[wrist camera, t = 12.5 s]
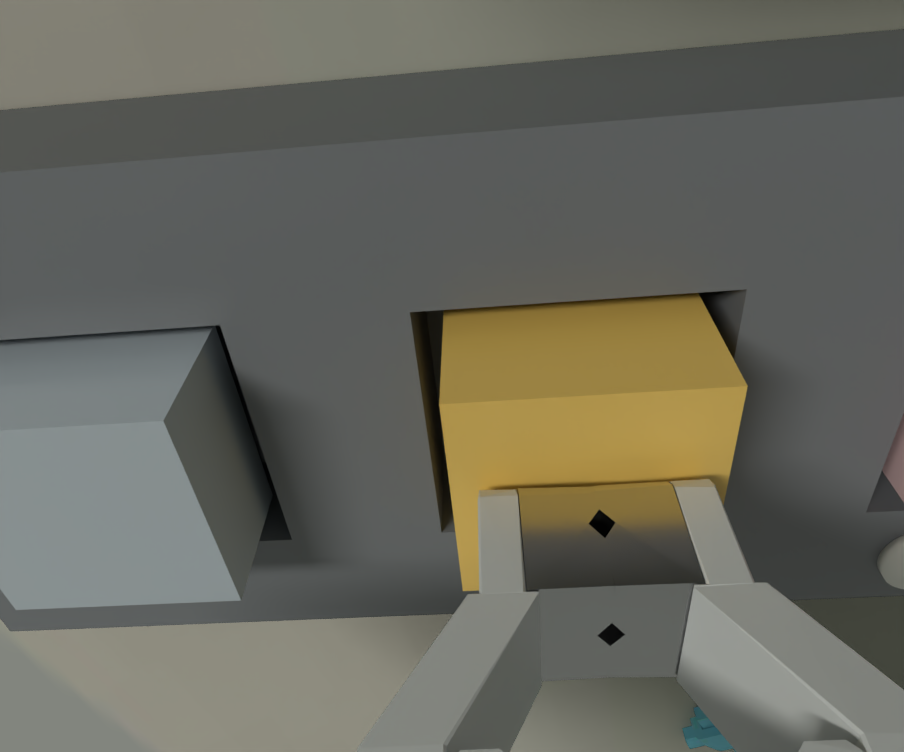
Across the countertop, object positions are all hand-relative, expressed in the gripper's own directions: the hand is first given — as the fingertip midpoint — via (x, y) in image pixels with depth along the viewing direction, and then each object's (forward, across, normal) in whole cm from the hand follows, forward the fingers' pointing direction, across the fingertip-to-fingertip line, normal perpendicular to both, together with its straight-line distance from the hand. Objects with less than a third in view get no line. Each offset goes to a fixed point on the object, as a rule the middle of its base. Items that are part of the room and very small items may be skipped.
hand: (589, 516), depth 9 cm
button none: (+2, +7, 0) cm, 7 cm away
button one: (+2, 0, 0) cm, 2 cm away
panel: (+5, 0, 0) cm, 5 cm away
